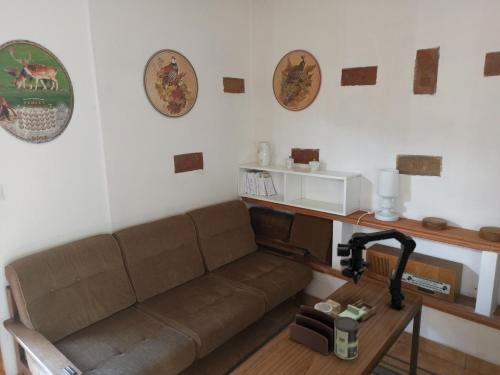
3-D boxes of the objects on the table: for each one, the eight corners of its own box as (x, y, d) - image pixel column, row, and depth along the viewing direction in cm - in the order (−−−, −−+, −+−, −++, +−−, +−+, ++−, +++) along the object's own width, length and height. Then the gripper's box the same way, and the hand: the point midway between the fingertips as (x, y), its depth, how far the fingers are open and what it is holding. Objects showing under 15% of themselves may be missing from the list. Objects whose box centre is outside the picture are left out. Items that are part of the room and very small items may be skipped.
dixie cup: (314, 320, 181) (314, 302, 178) (331, 321, 179) (331, 302, 177) (314, 329, 172) (314, 311, 170) (332, 331, 171) (332, 312, 169)
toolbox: (361, 306, 192) (361, 298, 191) (377, 313, 185) (377, 305, 184) (348, 314, 184) (348, 307, 184) (363, 322, 177) (364, 314, 177)
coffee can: (356, 345, 160) (357, 317, 157) (359, 361, 150) (360, 331, 147) (333, 343, 162) (333, 315, 159) (334, 358, 152) (334, 329, 149)
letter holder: (301, 328, 174) (301, 302, 171) (338, 344, 162) (338, 316, 159) (289, 338, 167) (289, 311, 164) (327, 356, 154) (327, 327, 151)
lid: (353, 307, 185) (353, 300, 184) (365, 313, 179) (366, 306, 178) (338, 316, 177) (338, 309, 176) (350, 323, 172) (351, 315, 171)
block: (329, 307, 192) (329, 299, 191) (340, 312, 187) (340, 304, 186) (324, 310, 189) (324, 302, 188) (335, 315, 184) (335, 307, 183)
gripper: (354, 247, 200) (353, 273, 203) (333, 257, 188) (332, 284, 192) (372, 253, 191) (370, 280, 195) (351, 263, 180) (350, 291, 183)
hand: (355, 283), depth 191 cm, fingers closed
